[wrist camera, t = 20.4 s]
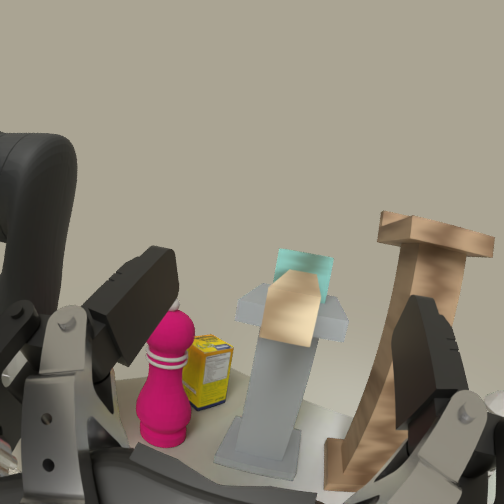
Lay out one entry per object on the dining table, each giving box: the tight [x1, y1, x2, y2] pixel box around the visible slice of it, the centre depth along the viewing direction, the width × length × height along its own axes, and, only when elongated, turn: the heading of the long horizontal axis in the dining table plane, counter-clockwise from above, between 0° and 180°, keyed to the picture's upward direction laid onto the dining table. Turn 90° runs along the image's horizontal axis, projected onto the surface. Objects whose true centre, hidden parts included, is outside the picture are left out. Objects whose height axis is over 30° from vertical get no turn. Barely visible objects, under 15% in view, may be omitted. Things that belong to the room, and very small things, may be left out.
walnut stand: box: [324, 211, 495, 492], centre depth 27 cm, size 10×13×34 cm
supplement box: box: [182, 334, 234, 411], centre depth 42 cm, size 6×6×11 cm
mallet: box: [259, 249, 333, 347], centre depth 26 cm, size 6×21×5 cm, turn 168°
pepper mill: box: [136, 299, 195, 448], centre depth 30 cm, size 7×7×20 cm
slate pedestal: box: [214, 283, 349, 481], centre depth 31 cm, size 10×13×22 cm
